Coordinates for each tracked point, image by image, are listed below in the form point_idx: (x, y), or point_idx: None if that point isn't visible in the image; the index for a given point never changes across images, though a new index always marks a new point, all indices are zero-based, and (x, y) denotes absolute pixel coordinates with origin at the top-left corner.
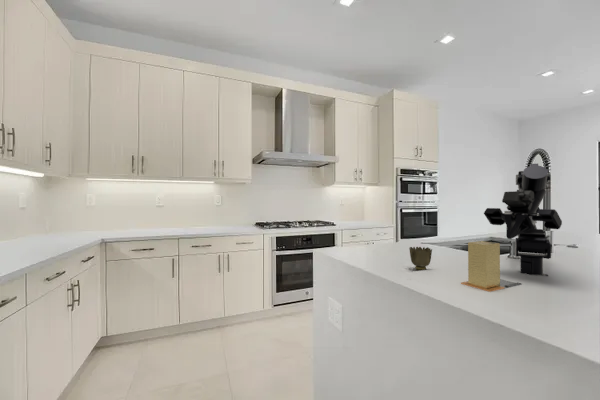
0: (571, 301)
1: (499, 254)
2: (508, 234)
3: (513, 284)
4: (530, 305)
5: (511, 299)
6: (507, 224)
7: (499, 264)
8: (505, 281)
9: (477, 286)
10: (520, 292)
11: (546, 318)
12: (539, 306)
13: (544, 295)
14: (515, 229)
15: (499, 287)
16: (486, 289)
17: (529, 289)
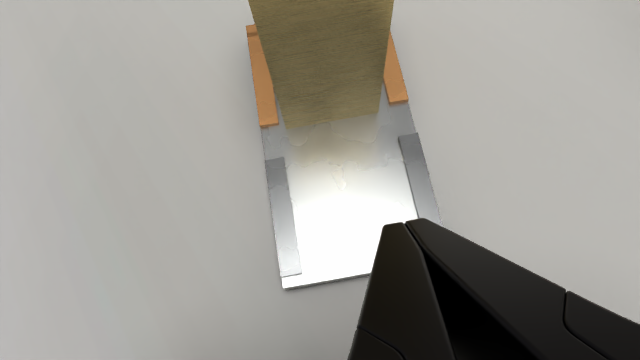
0: (62, 301)
1: (251, 11)
2: (416, 234)
3: (278, 211)
4: (116, 87)
5: (187, 80)
6: (622, 334)
7: (265, 58)
8: (354, 247)
9: None
10: (235, 203)
11: (30, 28)
12: (95, 108)
13: (162, 270)
14: (364, 314)
15: (265, 101)
16: None
17: (253, 299)
